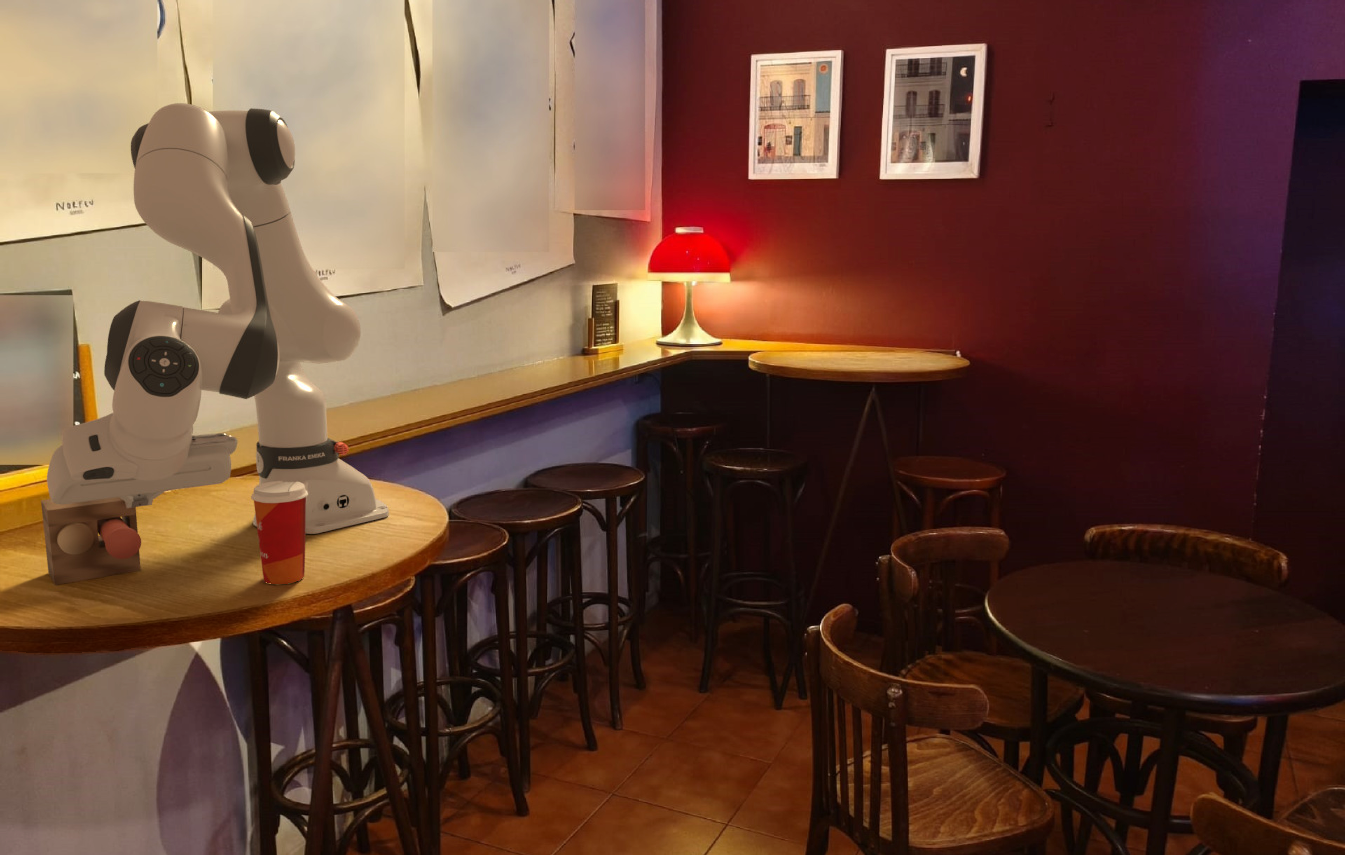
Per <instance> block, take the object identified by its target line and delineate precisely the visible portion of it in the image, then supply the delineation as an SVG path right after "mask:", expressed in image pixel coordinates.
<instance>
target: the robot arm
mask: <svg viewBox="0 0 1345 855" xmlns="http://www.w3.org/2000/svg"><path fill="white" fill-rule="evenodd" d="M130 155H131V160H132V163H133V164H132V165H133V168H134V175H133V201H134V202H133V203H134V206H135V210H136V211H137V213H138V215H139V217H140V218H141V220H142V221H143V222H144V223H145V224H146V226H147V227H148V228H149V229H150V230H152V231H153V232H154V233H155V234H156V235H158V236H159V237H160V238H162V239H164V240H165V241H166V242H169V243H170V244H172V245H174V246H176V247H179V248H182V249H183V250H187V251H188V252H190V253H192V254H195V255H197V256H198V257H200V258H202V259H204V260H205V261H207V262H209V263H211V264H212V265H213V266H215V267H217V269H218V270H220V271H221V272H222V274H223V275H224V276H225V279H226V280H227V281H226V282H227V287H228V294H229V298H228V299H226V301H224V302H223V303H222V304H221V306H220V308H219V309H218V311H217V312H214V311H210V310H202V309H198V308H197V309H196V308H191V307H190V308H189V307H185V306H181V305H176V304H170V303H163V302H158V301H151V300H140V299H138V300H137V301H134V302H133V303H130V304H128V305H127V306H125V307H124V308H122V310H120V311H119V312H117V314H115V315H114V316H113V318H112V321H111V324H110V328H109V329H108V330H109V332H108V337H107V346H106V347H107V348H106V357H105V359H104V360H105V361H104V362H105V363H104V371H103V372H104V373H103V374H104V377H105V379H106V381H107V383H108V385H109V386H110V388H111V389H112V390H113V396H112V402H111V403H112V404H111V408H112V411H113V412H111V413H109V414H107V415H104V416H102V417H99V418H95V419H94V420H89V421H86V422H83V423H79V424H75V425H71V426H68V427H66V428H64V429H63V430H62V432H61V445H59V447H57V448H56V449H55V450H54V452H53V453H52V455H51V459H50V461H49V465H48V469H47V473H46V474H47V475H46V483H47V484H46V485H47V489H48V494H49V498H50V499H51V501H52V502H54V503H57V504H60V505H63V504H70V503H77V502H85V501H92V500H100V499H107V498H115V497H120V498H121V499H122V500H124V501H125V504H126V508H133V507H136V508H138V507H144V506H145V507H146V506H152V505H153V501H154V499H156V498H157V497H159V496H161V495H162V494H164V493H165V492H166V491H167V492H168V491H173V490H174V491H175V490H182V489H189V488H190V489H191V488H197V487H205V486H212V485H213V486H214V485H221V484H223V483H224V482H226V481H227V480H229V479H230V477H231V473H232V459H231V455H232V454H233V453H234V452H235V451H236V449H237V448H238V446H237V445H238V442H239V441H238V438H237V437H236V436H233V435H228V434H227V433H225V432H224V433H221V432H220V433H204V434H203V433H202V434H194V424H195V422H196V420H197V418H198V415H199V411H200V405H201V398H202V391H205V392H215V393H219V394H220V395H225V396H230V397H235V398H239V399H244V400H248V399H250V398H252V397H254V401H255V412H256V420H257V433H258V441H257V442H256V444H255V445H256V447H255V448H256V452H255V462H256V471H257V475H258V476H259V478H258V480H259V481H258V485H260V484H263V483H267V482H273V481H283V482H285V481H293V482H294V483H295V482H301V483H303V484H304V486H305V490H306V491H307V492H308V495H307V496H306V528H305V534H310V535H312V534H313V535H314V534H315V535H316V534H320V533H323V532H329V531H332V530H333V531H334V530H338V529H341V528H346V527H350V526H354V525H358V524H362V523H366V522H367V523H368V522H371V521H374V520H376V521H377V520H379V519H382V518H383V519H384V518H387V517H388V516H389V515H390V511H389V506H388V505H387V504H386V503H384V502H383V501H382V500H380V499H378V498H376V495H375V491H374V487H373V484H372V482H371V481H370V479H369V478H368V477H367V476H366V475H365V474H363V473H362V472H360V471H358V470H357V469H356V468H355V467H353V466H352V465H350V464H348V463H347V462H345V461H343V460H342V459H340V458H339V456H345V455H347V454H348V453H349V450H350V448H349V446H348V445H347V444H346V443H344V442H342V441H339V442H338V441H336V440H333V439H331V438H329V437H328V422H327V420H328V418H327V401H326V396H325V394H324V393H323V391H322V390H321V389H320V388H319V387H318V386H317V385H316V384H314V383H313V382H312V381H311V380H310V379H309V378H308V377H307V375H306V374H305V372H304V370H303V368H302V364H301V363H307V364H319V365H320V364H328V363H329V364H330V363H335V362H340V361H341V362H342V361H345V360H347V359H349V358H351V356H352V355H353V354H354V353H355V352H356V350H357V347H358V346H359V343H360V341H361V340H360V339H361V333H362V331H361V324H360V320H359V317H358V316H357V314H356V312H355V310H354V309H353V308H352V307H351V306H349V304H347V303H345V302H344V301H342V300H341V299H340V298H338V297H337V296H336V295H335V294H334V293H332V292H331V290H330V289H328V287H327V286H326V285H325V284H324V283H323V281H322V280H321V279H320V278H319V276H318V274H317V273H316V272H315V271H314V269H313V268H312V265H311V264H310V263H309V261H308V258H307V256H306V254H305V252H304V250H303V247H302V245H301V241H300V238H299V234H298V232H297V229H296V226H295V222H294V219H293V216H292V212H291V208H290V205H289V202H288V199H287V196H286V192H285V190H284V188H283V186H282V181H284V180H286V179H287V178H288V177H289V175H290V174H291V172H293V170H294V168H295V165H296V164H295V160H296V159H295V158H296V147H295V140H294V137H293V135H292V133H291V131H290V129H289V127H288V124H287V123H286V121H285V120H284V119H283V117H282V116H280V114H278V113H276V111H273V110H270V109H264V108H254V107H253V108H249V110H213V111H208V110H206V109H204V108H202V107H200V106H197V105H195V104H190V103H187V102H186V103H183V102H182V103H181V102H179V103H178V102H177V103H171V104H167V105H165V106H163V107H161V108H159V109H158V110H157V111H156V112H154V114H153V115H152V117H151V118H150V121H149V122H148V123H145V124H143V125H142V126H139V127H138V129H137V130H136V131H135V133H134V134H133V135H132V138H131V141H130ZM252 524H253V526H255V527H256V528H257V523H256V514H255V513H254V516H253V520H252Z"/></svg>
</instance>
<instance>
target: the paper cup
mask: <svg viewBox="0 0 1345 855" xmlns="http://www.w3.org/2000/svg"><path fill="white" fill-rule="evenodd" d="M307 495H308V492H307V491H306V490H305V486H304V484H303V483H301V482H295V483H294V482H293V481H285V482H283V481H273V482H267V483H263V484H260V485H259V484H257V485H256V486H254V488H253V493H252V494H251V496H250V498H251V500H252V501H253V506H254V515H255V514H256V523H257V527H256V530H257V537H258V546H259V547H258V548H259V554H260V555H259V556H260V563H261V570H262V576H263V580H264V583H266V582H267V583H271V584H278V585H277V586H280V585H279V584H287V585H289V584H288V583H293V582H296V581H299V580H301V579H302V578H303V577H304V578H305V572H306V571H305V567H306V566H305V565H306V564H305V563H306V533H305V528H306V496H307ZM304 578H303V579H304ZM303 579H302V580H303ZM302 580H301V581H302ZM299 582H300V581H299ZM267 583H266V584H267ZM296 583H297V582H296ZM271 584H270V585H271ZM293 584H294V583H293Z"/></svg>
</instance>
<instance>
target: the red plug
mask: <svg viewBox="0 0 1345 855" xmlns="http://www.w3.org/2000/svg"><path fill="white" fill-rule="evenodd" d="M97 528H98V536H101V538H102V539H103V540H104V542H105V547H106V550H107V551H108V553H109V554H110V555H111V556H112V557H114V558H117V559H126V558H130V557H132V556H133V555H135V554H136V553H137V552H138V551H139V552H140V548H141V546H142V538H141V535H140V534H139V532H138V533H137V532H136V531H135V530H133V529H131V528H129V527H128V526H127V525H126V523H125V522H124V521H123V520H122V517H115V518H108V519H101V520H97Z"/></svg>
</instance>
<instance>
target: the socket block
mask: <svg viewBox="0 0 1345 855" xmlns="http://www.w3.org/2000/svg"><path fill="white" fill-rule="evenodd" d="M40 505H41V513H42V523H43V532H44V541H45V542H44V543H45V552H46V562H47V571H48V574H49V577H50V578H51V581H52V582H53V585H54V586H58V585H63V584H68V583H75V582H81V581H86V580H92V579H98V578H103V577H109V576H115V575H121V574H127V573H131V572H132V573H133V572H137V571H138V572H139V571H142V569H141V567H142V566H141V557H140V556H141V555H140V550H139V551H138V552H137V553H136V554H135V555H133V556H132V557H130V558H126V559H117V558H114V557H112V556H111V555H110V554H109V553H108V551H107V550H106V547H105V542H104V540H103V539H102V538H101V536H100V535H99V533H98V528H97V520H101V519H108V518H115V517H121V519H122V520H123V521H124V522H125V523H126V525H127V526H128V527H129V528H131V529H133V530H135V531H136V532H137V533H138V534H139V531H138V530H139V529H138V520H137V518H138V517H137V507H133V508H126V504H125V501H124V500H122V499H121V498H120V497H115V498H107V499H100V500H92V501H85V502H77V503H70V504H63V505H60V504H57V503H54V502H52V501H51V498H50V499H49V498H48V499H42V500H40Z"/></svg>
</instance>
